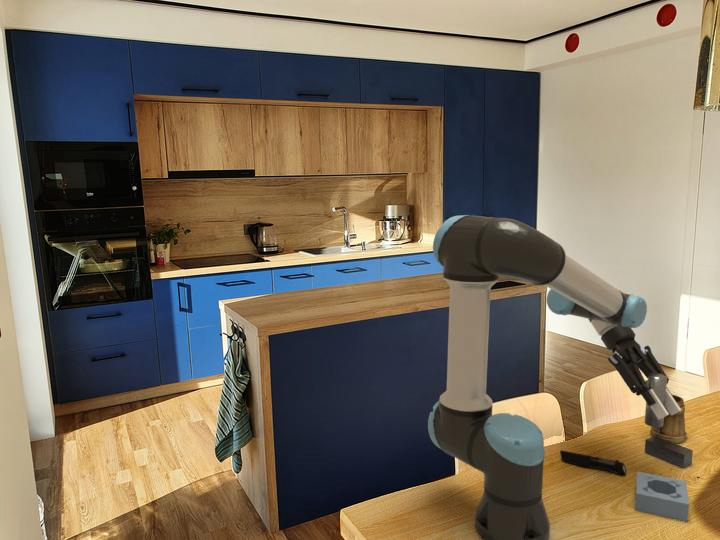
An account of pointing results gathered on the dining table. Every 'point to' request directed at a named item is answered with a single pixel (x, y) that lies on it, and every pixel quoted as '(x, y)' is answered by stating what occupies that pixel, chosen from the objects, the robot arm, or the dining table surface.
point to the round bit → (659, 387)
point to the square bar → (668, 452)
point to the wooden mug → (672, 424)
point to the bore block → (662, 496)
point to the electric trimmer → (594, 462)
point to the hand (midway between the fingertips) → (670, 414)
